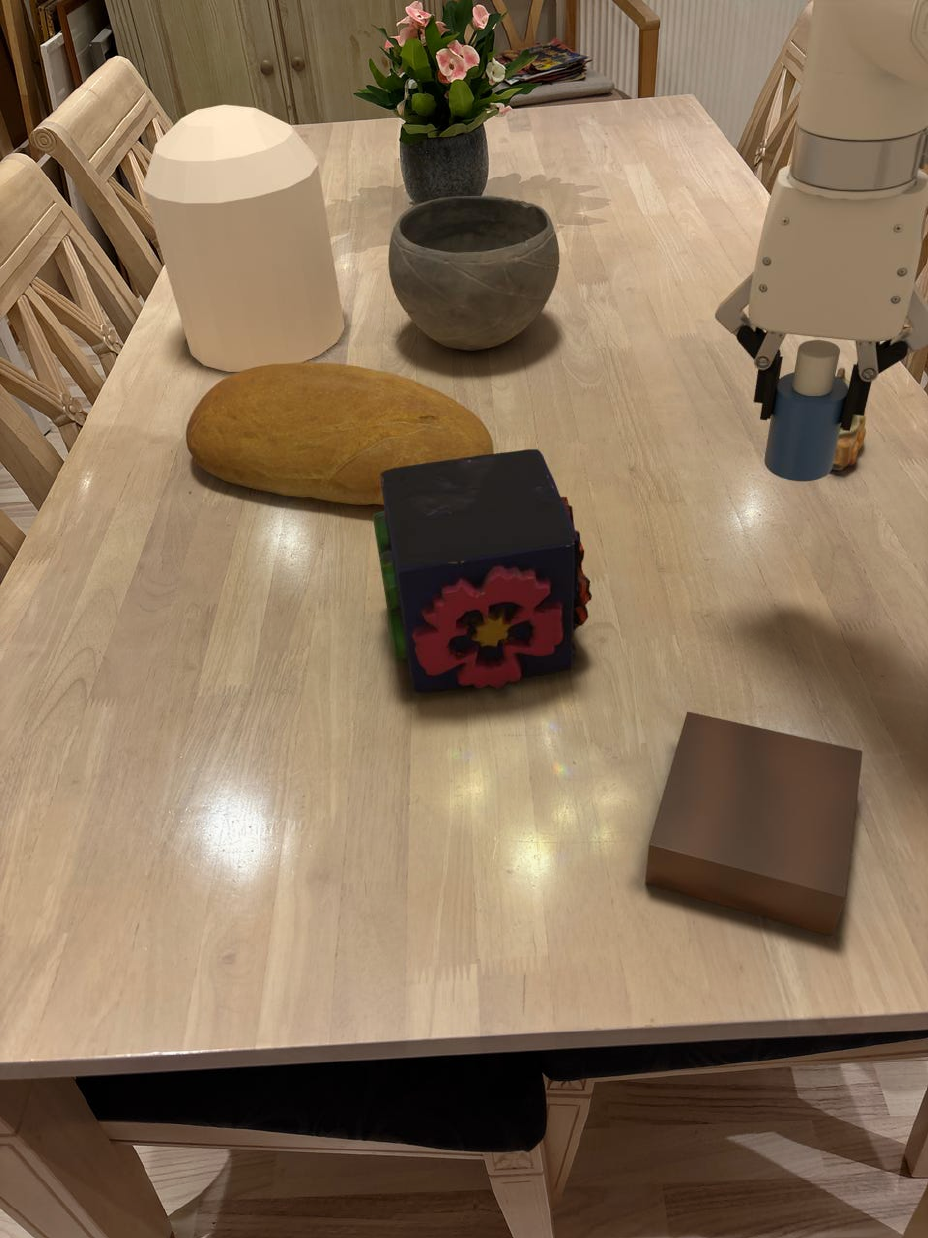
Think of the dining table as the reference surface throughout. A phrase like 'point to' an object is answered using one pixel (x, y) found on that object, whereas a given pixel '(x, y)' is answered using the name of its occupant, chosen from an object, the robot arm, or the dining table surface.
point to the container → (244, 239)
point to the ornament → (849, 437)
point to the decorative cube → (480, 570)
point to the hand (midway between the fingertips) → (807, 413)
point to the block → (757, 822)
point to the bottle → (807, 415)
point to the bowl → (473, 268)
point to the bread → (326, 430)
